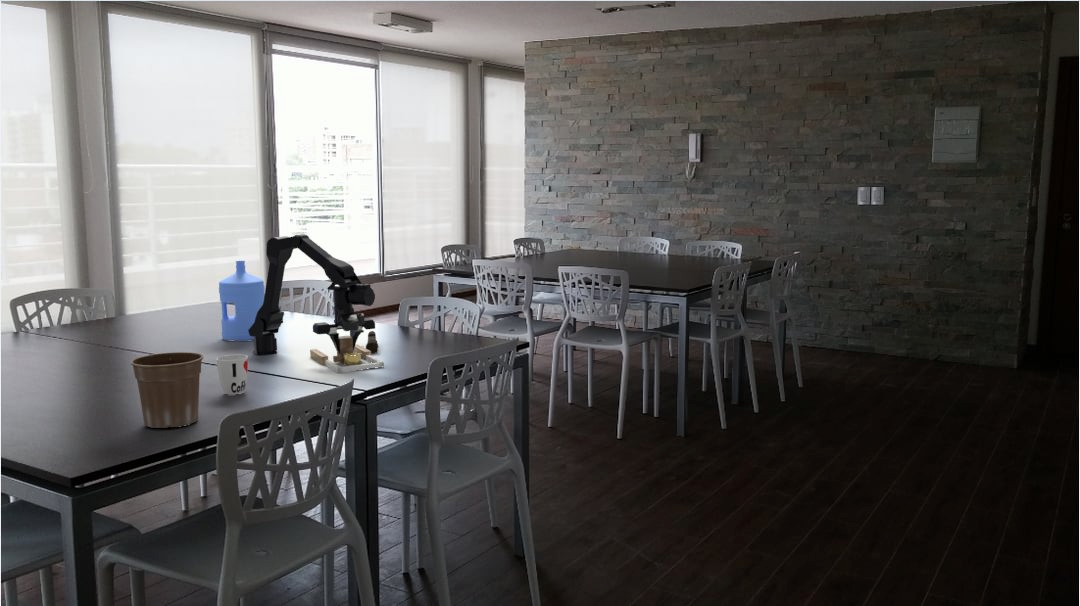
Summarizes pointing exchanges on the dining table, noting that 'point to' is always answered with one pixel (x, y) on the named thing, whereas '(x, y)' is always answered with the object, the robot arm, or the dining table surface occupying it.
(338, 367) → the white tray
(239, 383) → the cup
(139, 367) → the plant pot
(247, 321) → the water jug
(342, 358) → the brown t-shaped block
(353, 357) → the puck
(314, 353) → the wooden blocks
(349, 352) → the puck
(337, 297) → the robot arm
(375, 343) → the hand tool
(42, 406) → the dining table surface
